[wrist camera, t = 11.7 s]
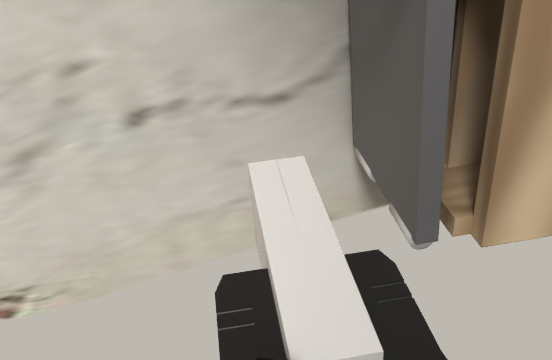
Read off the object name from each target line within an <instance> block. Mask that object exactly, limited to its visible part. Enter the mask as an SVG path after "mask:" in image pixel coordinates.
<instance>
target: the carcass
mask: <svg viewBox="0 0 552 360" xmlns="http://www.w3.org/2000/svg"><path fill="white" fill-rule="evenodd" d="M440 220H441V221H442V223H443V224H444V225H445V227H446V228H447V230H448V231H449V232H450V234H451V235H452V236H459V235H465V234H471V235H472V236H473V237H474V239H475V240H476V241H477V242H478V244H479V245H480V246H481V247H488V246H494V245H500V244H506V243H512V242H518V241H524V240H530V239H536V238H541V237H547V236H552V0H456V4H455V18H454V32H453V45H452V59H451V72H450V86H449V99H448V113H447V126H446V140H445V153H444V167H443V180H442V194H441V207H440Z"/></svg>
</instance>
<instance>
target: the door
mask: <svg viewBox="0 0 552 360" xmlns="http://www.w3.org/2000/svg"><path fill="white" fill-rule="evenodd" d="M455 4H456V0H349V17H350V49H351V82H352V114H353V145H354V146H355V148H356V149H355V155H356V156H357V158H358V160H359V161H360V163H361V165H362V166H363V168H364V170H365V171H366V173H367V174H368V176H369V178H370V179H371V180H372V181H373V182H376V183H378V185H379V187H380V188H381V190H382V191H383V193H384V195H385V196H386V198H387V199H388V201H389V203H390V205H389V210H390V212H391V214H392V215H393V217H394V219H395V221H396V222H397V224H398V226H399V227H400V229H401V231H402V232H403V234H404V235H405V237H406V239H407V240H408V242H409V243H410V245H411V247H413V248H414V249H424V248H427V247H428V246H430V245H431V244H432V243H433V242H435V241H438V234H439V220H440V207H441V194H442V180H443V167H444V153H445V140H446V126H447V113H448V99H449V86H450V72H451V59H452V45H453V32H454V18H455Z"/></svg>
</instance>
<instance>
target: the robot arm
mask: <svg viewBox="0 0 552 360" xmlns="http://www.w3.org/2000/svg"><path fill="white" fill-rule="evenodd" d="M248 170H249V179H250V188H251V197H252V206H253V215H254V224H255V233H256V241H257V248H258V253H259V258H260V263H261V268H262V269H259V270H253V271H246V272H240V273H233V274H227V275H223V276H222V279H221V281H220V283H219V285H218V287H217V290H216V292H215V300H216V313H217V326H218V339H219V352H220V360H447V359H446V357H445V356H444V354H443V353H442V351H441V350H440V348H439V346H438V344H437V342H436V340H435V338H434V336H433V334H432V332H431V331H430V329H429V327H428V325H427V323H426V321H425V319H424V317H423V315H422V314H421V312H420V310H419V308H418V306H417V304H416V302H415V300H414V298H412V295H411V293H410V291H409V289H408V287H407V285H406V284H405V283H404V279H403V277H402V276H401V274H400V272H399V270H398V268H397V266H396V264H395V263H394V262H393V261H392V260H390V259H389V258H388V257H387V256H386V255H384V254H383V253H382V252H381V251H379V250H372V251H365V252H359V253H353V254H346V255H344V254H343V251H342V249H341V246H340V244H339V242H338V239H337V237H336V234H335V232H334V229H333V227H332V224H331V222H330V219H329V217H328V215H327V212H326V210H325V207H324V205H323V202H322V200H321V197H320V195H319V193H318V190H317V188H316V185H315V183H314V180H313V178H312V175H311V173H310V171H309V168H308V166H307V163H306V161H305V158H304V156H299V157H291V158H284V159H277V160H269V161H262V162H255V163H248Z"/></svg>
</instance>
